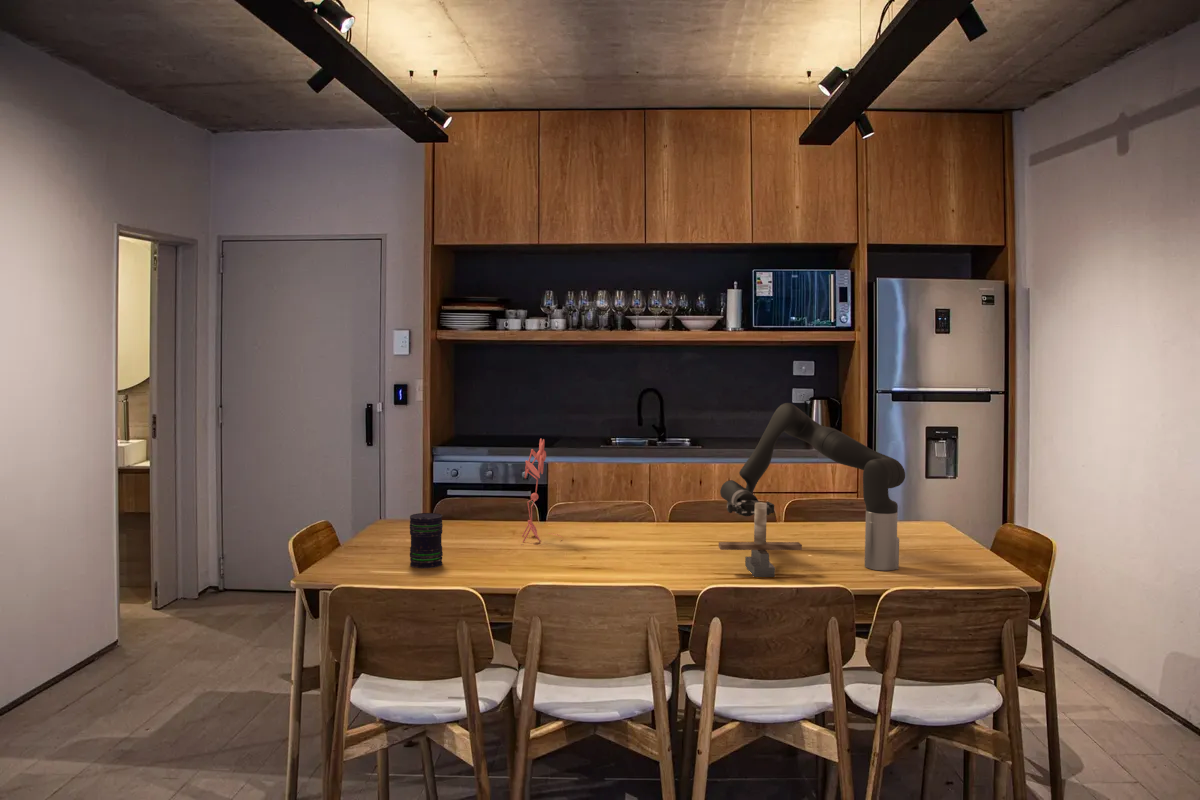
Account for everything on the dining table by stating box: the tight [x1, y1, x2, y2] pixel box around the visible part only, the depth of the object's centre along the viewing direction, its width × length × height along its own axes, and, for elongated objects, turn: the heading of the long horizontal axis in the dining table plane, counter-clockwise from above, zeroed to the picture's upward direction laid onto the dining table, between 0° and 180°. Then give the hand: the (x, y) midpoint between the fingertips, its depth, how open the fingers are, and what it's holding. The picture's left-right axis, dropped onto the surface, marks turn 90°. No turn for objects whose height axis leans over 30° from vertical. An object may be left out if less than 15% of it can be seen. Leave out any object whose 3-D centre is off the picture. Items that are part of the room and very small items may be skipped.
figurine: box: [520, 438, 562, 546], centre depth 317 cm, size 15×26×35 cm, turn 6°
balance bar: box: [718, 501, 803, 551], centre depth 273 cm, size 24×4×14 cm, turn 91°
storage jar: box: [409, 512, 444, 569], centre depth 280 cm, size 10×10×15 cm
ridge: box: [744, 550, 776, 578], centre depth 273 cm, size 6×14×7 cm, turn 2°
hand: (754, 511), depth 281 cm, fingers open, 8 cm apart
